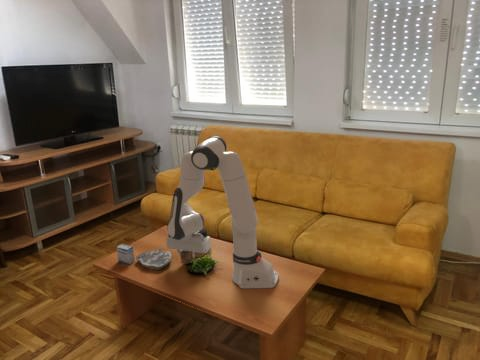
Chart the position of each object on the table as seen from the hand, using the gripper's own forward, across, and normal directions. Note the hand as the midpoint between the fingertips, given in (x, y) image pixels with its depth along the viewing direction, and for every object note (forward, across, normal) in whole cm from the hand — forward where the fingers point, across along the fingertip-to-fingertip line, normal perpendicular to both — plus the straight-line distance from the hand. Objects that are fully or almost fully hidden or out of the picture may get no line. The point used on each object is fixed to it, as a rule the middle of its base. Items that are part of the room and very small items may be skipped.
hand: (187, 256), depth 216 cm
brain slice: (+4, +18, +1) cm, 18 cm away
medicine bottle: (+4, -3, -15) cm, 16 cm away
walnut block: (+3, 0, 0) cm, 3 cm away
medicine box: (+4, +34, +4) cm, 34 cm away
